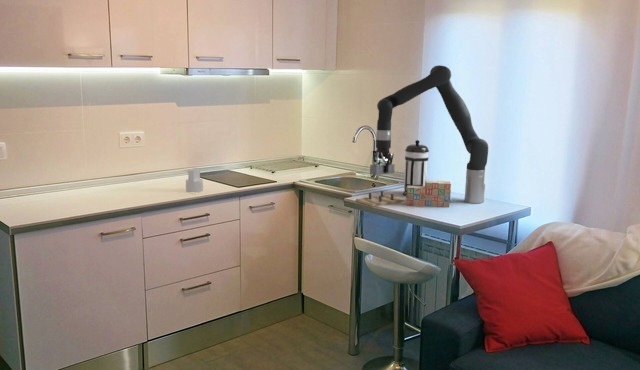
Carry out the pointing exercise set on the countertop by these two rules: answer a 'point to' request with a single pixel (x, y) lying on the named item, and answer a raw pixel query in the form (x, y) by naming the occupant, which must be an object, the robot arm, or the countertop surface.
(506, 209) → the countertop surface
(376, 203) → the pin tray
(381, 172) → the grey rectangular block
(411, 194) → the stack of blocks
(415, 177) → the coffee press
